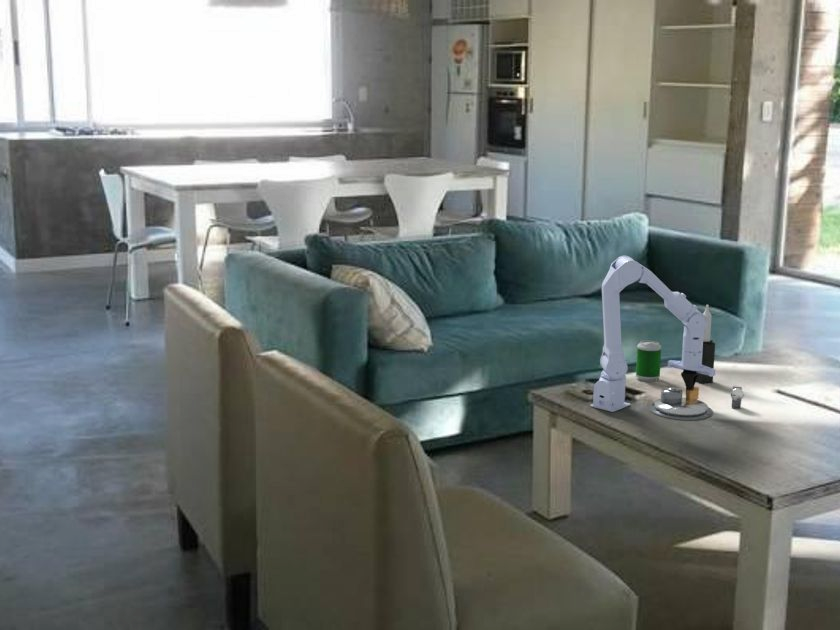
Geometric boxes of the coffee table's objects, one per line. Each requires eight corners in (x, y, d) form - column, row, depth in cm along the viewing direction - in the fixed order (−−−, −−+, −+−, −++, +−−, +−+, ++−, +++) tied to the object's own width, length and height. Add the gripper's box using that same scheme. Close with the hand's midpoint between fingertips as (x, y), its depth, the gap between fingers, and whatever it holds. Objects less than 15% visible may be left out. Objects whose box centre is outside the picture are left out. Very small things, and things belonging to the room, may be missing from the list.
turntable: (690, 420, 296) (691, 403, 295) (644, 408, 306) (645, 393, 305) (719, 407, 307) (720, 392, 306) (673, 397, 317) (674, 382, 316)
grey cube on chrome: (742, 409, 307) (744, 389, 306) (729, 408, 308) (731, 388, 306) (742, 406, 310) (743, 386, 309) (729, 405, 311) (730, 385, 309)
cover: (674, 406, 304) (675, 392, 303) (656, 401, 308) (657, 388, 307) (685, 401, 308) (686, 388, 308) (667, 397, 313) (668, 384, 312)
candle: (691, 380, 337) (695, 303, 332) (703, 378, 339) (708, 302, 334) (701, 384, 333) (706, 306, 327) (714, 382, 335) (719, 305, 329)
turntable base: (692, 424, 294) (692, 423, 294) (637, 410, 306) (637, 409, 306) (724, 410, 306) (724, 409, 306) (670, 397, 319) (670, 396, 318)
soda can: (661, 382, 335) (663, 345, 332) (637, 382, 335) (639, 345, 332) (657, 376, 342) (658, 340, 340) (633, 375, 342) (635, 339, 340)
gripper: (721, 352, 306) (718, 397, 309) (677, 343, 316) (674, 387, 319) (709, 356, 301) (706, 402, 304) (665, 347, 311) (662, 392, 314)
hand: (689, 395), depth 311 cm, fingers closed, pressing on turntable
